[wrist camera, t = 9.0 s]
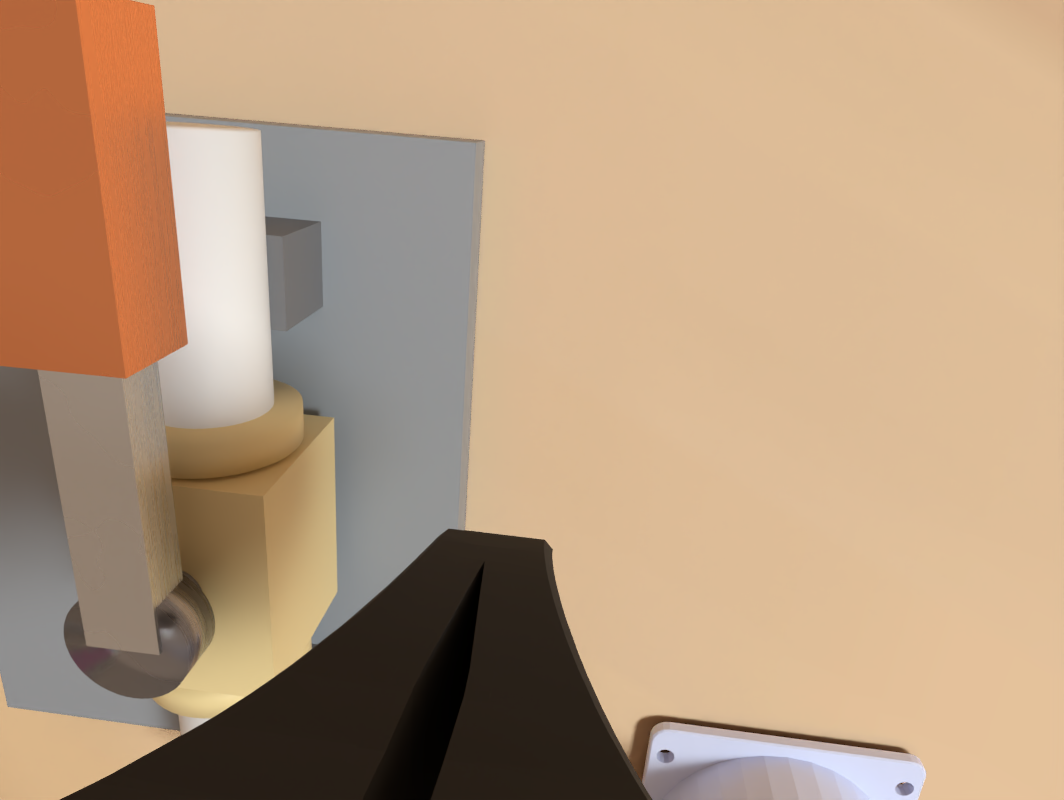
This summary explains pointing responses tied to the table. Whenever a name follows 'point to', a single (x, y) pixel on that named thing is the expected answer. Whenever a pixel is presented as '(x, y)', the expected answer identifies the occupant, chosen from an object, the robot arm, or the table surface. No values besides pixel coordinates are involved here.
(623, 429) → the table surface
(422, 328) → the valve board
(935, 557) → the table surface
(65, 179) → the valve lever
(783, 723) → the table surface
